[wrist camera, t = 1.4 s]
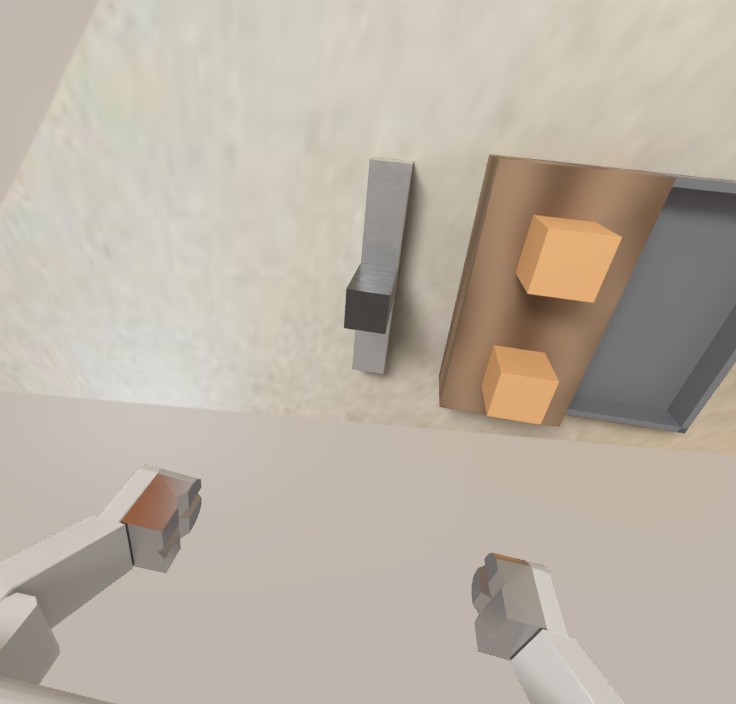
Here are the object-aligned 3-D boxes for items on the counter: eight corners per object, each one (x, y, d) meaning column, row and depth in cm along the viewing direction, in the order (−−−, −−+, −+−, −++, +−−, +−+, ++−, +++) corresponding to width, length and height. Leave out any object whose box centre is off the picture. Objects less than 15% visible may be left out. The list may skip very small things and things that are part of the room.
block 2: (596, 222, 24) (622, 237, 21) (573, 280, 27) (593, 302, 23) (533, 214, 25) (548, 228, 21) (515, 272, 27) (527, 293, 23)
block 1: (544, 352, 30) (559, 381, 26) (529, 392, 32) (540, 424, 28) (493, 345, 30) (501, 372, 27) (481, 385, 32) (486, 415, 29)
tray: (812, 189, 26) (853, 195, 23) (667, 411, 36) (684, 433, 34) (638, 170, 27) (659, 174, 24) (545, 392, 37) (553, 412, 35)
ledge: (638, 170, 27) (676, 178, 23) (545, 392, 37) (559, 426, 33) (489, 154, 28) (499, 158, 23) (439, 375, 38) (439, 406, 34)
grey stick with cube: (413, 161, 29) (406, 172, 21) (386, 357, 38) (374, 414, 31) (375, 156, 29) (354, 166, 22) (357, 353, 39) (338, 408, 31)
